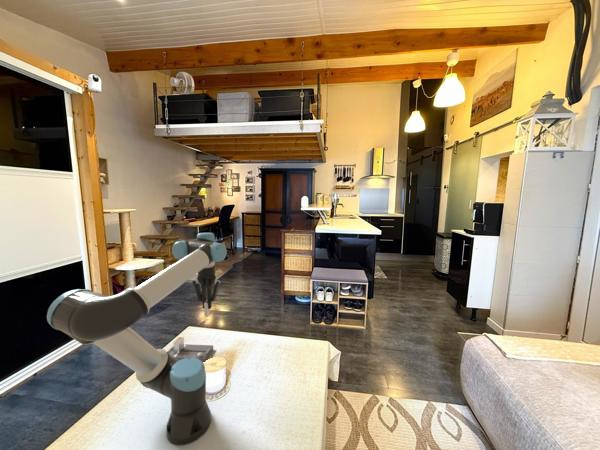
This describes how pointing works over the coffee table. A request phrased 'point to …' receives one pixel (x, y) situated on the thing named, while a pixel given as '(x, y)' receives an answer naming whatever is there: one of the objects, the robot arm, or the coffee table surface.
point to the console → (192, 352)
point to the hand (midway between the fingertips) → (207, 315)
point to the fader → (178, 344)
